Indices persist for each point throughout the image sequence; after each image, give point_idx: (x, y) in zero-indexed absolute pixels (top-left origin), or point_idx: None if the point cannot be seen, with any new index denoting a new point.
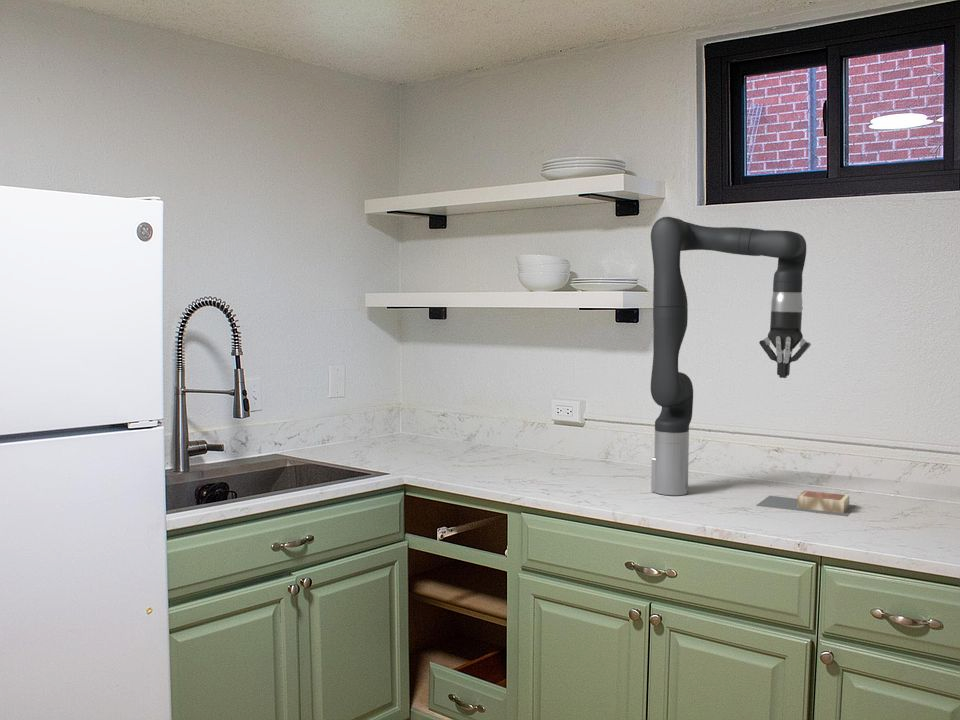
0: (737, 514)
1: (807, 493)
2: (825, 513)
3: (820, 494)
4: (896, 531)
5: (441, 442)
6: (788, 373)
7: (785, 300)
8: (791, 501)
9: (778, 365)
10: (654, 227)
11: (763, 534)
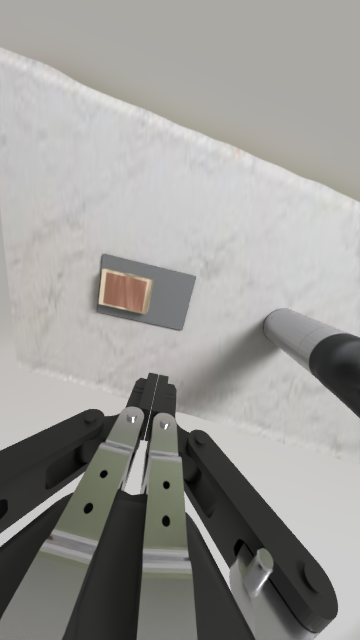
0: (215, 239)
1: (142, 298)
2: (125, 260)
3: (128, 296)
4: (53, 210)
5: None
6: (135, 384)
7: None
8: (160, 308)
9: (170, 411)
10: None
11: (188, 139)
